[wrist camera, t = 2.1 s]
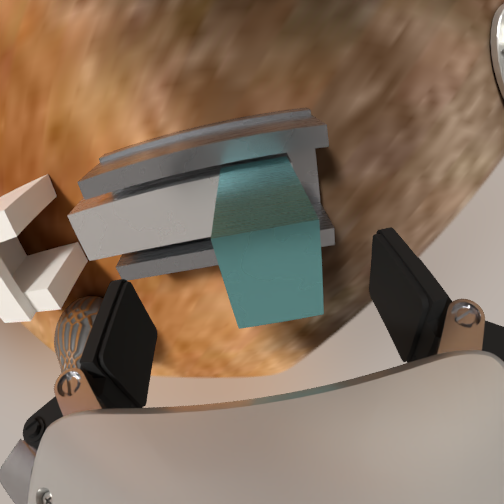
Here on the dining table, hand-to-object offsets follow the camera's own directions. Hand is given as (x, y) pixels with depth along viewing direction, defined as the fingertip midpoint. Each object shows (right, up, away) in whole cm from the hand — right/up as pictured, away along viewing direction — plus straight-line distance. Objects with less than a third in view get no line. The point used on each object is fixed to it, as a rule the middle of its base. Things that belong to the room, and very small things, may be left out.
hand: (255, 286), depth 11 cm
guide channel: (-3, +6, +9) cm, 11 cm away
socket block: (-19, +3, +10) cm, 21 cm away
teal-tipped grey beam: (-5, +5, +8) cm, 11 cm away
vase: (-15, -4, +16) cm, 22 cm away
